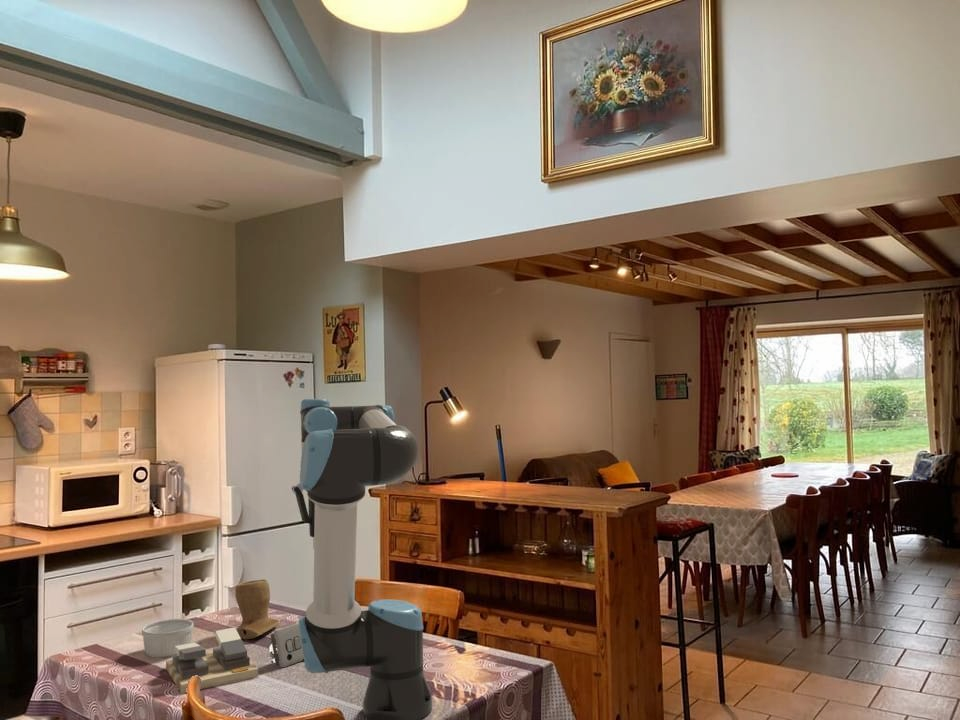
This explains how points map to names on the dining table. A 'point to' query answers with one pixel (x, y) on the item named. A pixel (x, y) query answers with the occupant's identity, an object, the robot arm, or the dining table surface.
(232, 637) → the rocker
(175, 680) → the switch board
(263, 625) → the tan piece
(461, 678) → the dining table surface
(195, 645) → the rocker
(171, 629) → the ramekin
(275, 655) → the electrical switch
